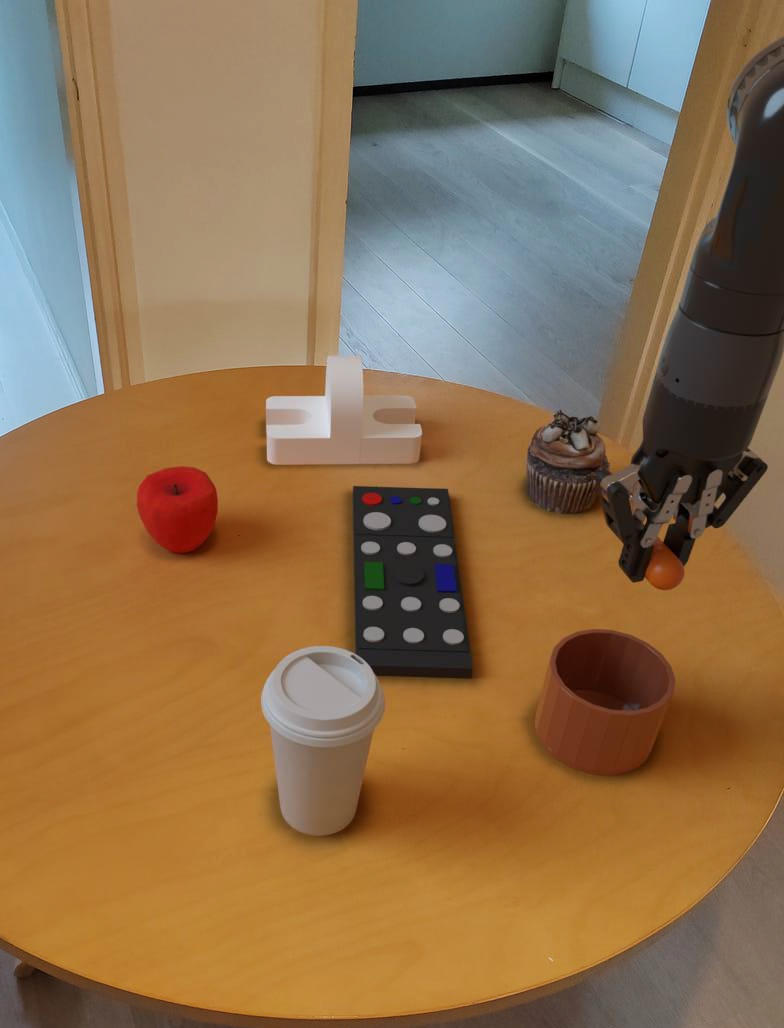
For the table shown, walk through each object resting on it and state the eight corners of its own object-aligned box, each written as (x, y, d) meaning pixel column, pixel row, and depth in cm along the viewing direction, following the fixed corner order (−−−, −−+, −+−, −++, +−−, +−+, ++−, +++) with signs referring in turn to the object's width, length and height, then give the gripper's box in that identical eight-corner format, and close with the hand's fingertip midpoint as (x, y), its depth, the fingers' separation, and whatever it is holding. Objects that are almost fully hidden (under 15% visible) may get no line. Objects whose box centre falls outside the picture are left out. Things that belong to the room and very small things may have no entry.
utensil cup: (671, 726, 95) (695, 665, 89) (619, 795, 89) (641, 734, 83) (569, 674, 99) (586, 613, 94) (513, 736, 93) (528, 674, 88)
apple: (158, 511, 118) (153, 453, 113) (230, 524, 116) (228, 466, 111) (128, 557, 112) (121, 497, 106) (204, 572, 110) (200, 512, 105)
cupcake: (516, 512, 119) (531, 437, 112) (523, 467, 126) (537, 395, 119) (599, 524, 118) (619, 450, 111) (602, 479, 125) (620, 406, 118)
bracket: (410, 421, 134) (418, 340, 126) (420, 464, 126) (429, 380, 119) (265, 422, 133) (265, 340, 125) (267, 465, 126) (266, 381, 118)
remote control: (446, 499, 121) (448, 485, 120) (470, 679, 99) (473, 664, 97) (352, 496, 121) (353, 482, 120) (355, 675, 99) (356, 661, 97)
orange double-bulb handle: (671, 602, 80) (698, 576, 79) (652, 590, 78) (679, 563, 77) (618, 542, 85) (643, 517, 84) (599, 529, 84) (624, 504, 82)
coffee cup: (392, 833, 85) (408, 709, 75) (284, 865, 83) (285, 741, 72) (348, 751, 92) (357, 627, 82) (247, 779, 89) (244, 654, 79)
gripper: (653, 416, 65) (595, 618, 77) (835, 388, 69) (753, 586, 80) (595, 362, 71) (549, 559, 82) (766, 338, 74) (699, 531, 86)
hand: (650, 571), depth 81 cm, fingers closed on orange double-bulb handle, 2 cm apart
